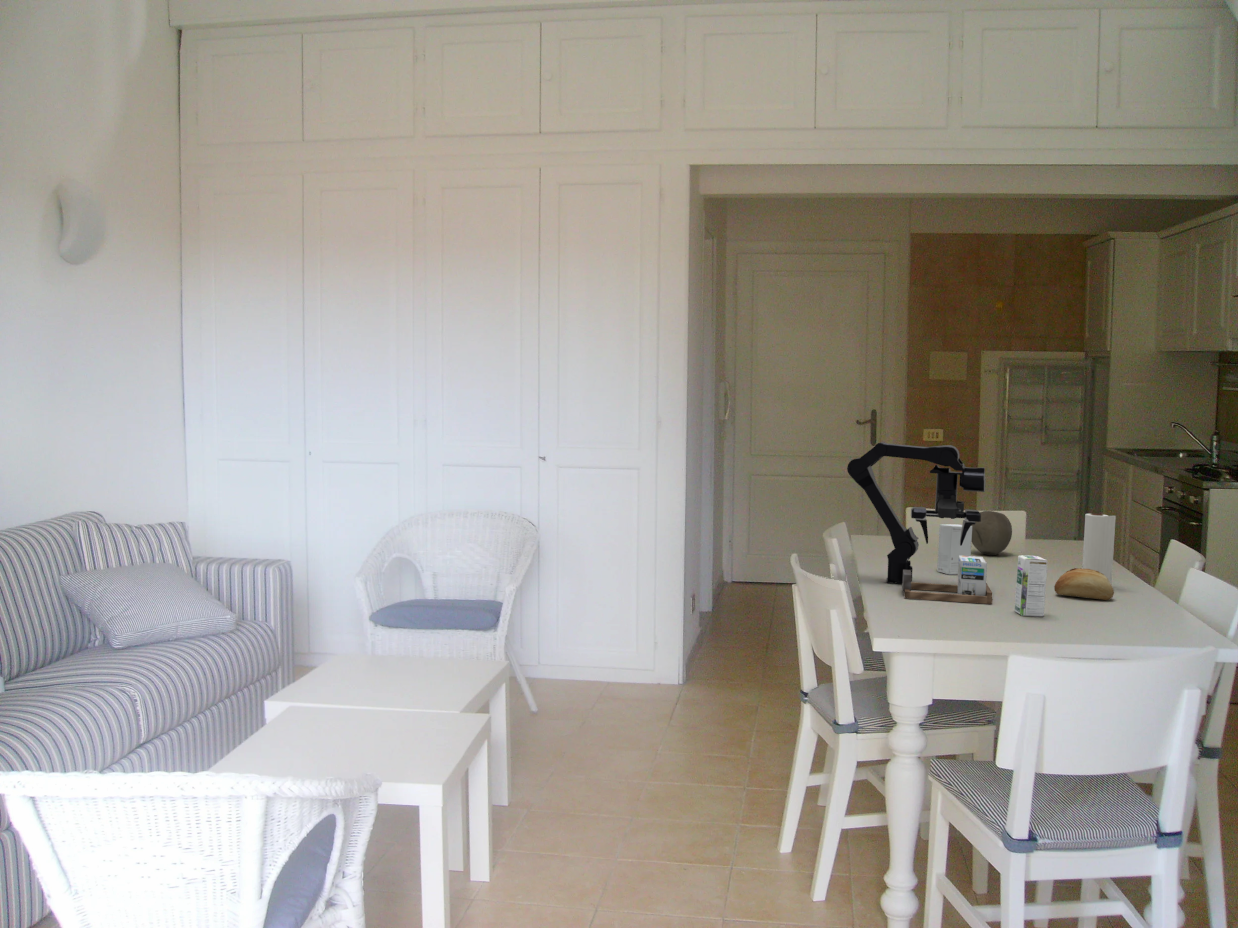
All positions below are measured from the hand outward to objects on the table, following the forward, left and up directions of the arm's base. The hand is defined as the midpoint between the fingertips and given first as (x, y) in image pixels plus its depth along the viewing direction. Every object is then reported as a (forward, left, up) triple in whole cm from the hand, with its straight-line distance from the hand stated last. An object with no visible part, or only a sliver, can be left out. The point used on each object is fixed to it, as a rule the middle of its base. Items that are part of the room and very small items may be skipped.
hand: (943, 544), depth 303 cm
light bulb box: (+7, -15, -12) cm, 20 cm away
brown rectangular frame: (0, -15, -12) cm, 19 cm away
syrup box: (+19, -32, -12) cm, 39 cm away
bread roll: (+37, -3, -12) cm, 39 cm away
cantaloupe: (+20, +68, -12) cm, 72 cm away
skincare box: (+5, +25, -12) cm, 28 cm away
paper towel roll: (+43, +13, -12) cm, 47 cm away
